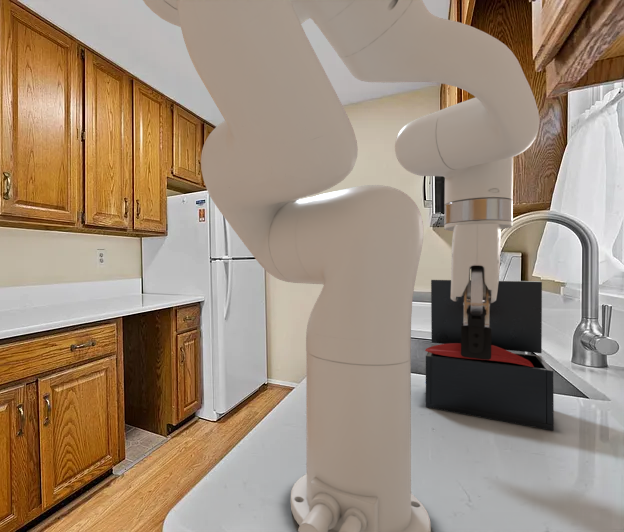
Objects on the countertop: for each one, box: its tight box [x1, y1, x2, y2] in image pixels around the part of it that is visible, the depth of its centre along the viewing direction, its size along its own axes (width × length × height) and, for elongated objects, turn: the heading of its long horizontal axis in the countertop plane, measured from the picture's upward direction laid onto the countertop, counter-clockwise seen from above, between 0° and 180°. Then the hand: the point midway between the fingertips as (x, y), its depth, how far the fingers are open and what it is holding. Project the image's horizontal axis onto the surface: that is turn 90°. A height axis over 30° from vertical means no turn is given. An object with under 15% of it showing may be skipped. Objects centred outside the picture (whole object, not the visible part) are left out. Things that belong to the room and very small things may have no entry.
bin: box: [425, 344, 555, 431], centre depth 64 cm, size 12×17×9 cm
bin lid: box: [430, 279, 543, 354], centre depth 70 cm, size 12×17×6 cm
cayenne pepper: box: [425, 343, 534, 367], centre depth 49 cm, size 12×5×2 cm, turn 41°
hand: (475, 353), depth 49 cm, fingers closed on cayenne pepper, 3 cm apart
